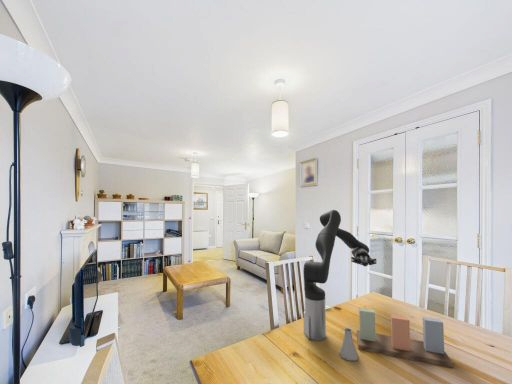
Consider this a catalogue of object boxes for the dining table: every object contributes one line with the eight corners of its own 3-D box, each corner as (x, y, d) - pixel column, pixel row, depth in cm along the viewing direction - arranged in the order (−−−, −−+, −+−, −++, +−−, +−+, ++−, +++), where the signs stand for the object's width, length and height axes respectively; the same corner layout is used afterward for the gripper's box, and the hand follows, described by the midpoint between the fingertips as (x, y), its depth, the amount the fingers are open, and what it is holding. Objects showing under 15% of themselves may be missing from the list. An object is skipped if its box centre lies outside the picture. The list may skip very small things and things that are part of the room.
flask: (357, 351, 96) (357, 326, 96) (359, 363, 89) (358, 336, 90) (339, 348, 98) (338, 323, 99) (339, 359, 92) (338, 332, 92)
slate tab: (426, 350, 93) (425, 320, 94) (423, 346, 96) (422, 316, 97) (444, 354, 91) (443, 322, 92) (441, 349, 94) (440, 319, 95)
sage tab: (360, 338, 102) (359, 310, 102) (359, 335, 104) (359, 307, 105) (375, 341, 100) (374, 312, 100) (374, 337, 102) (374, 309, 103)
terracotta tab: (392, 348, 95) (392, 317, 96) (391, 343, 98) (390, 314, 98) (410, 351, 93) (409, 320, 94) (408, 347, 96) (407, 316, 96)
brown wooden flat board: (358, 349, 98) (358, 344, 98) (356, 334, 109) (356, 330, 109) (452, 367, 87) (452, 362, 87) (440, 348, 98) (440, 344, 98)
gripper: (349, 249, 137) (350, 255, 120) (375, 251, 132) (379, 257, 116) (350, 262, 136) (351, 270, 120) (375, 264, 132) (380, 273, 115)
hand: (365, 264), depth 118 cm, fingers closed
